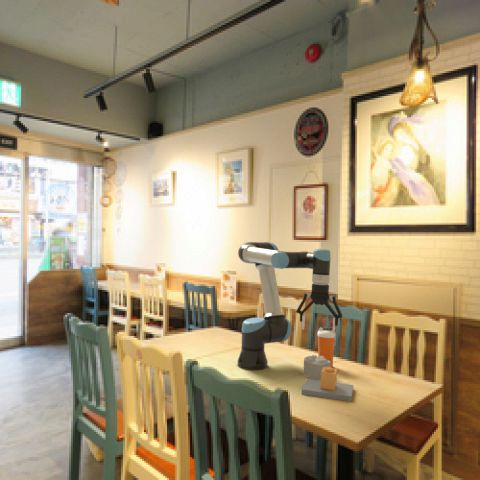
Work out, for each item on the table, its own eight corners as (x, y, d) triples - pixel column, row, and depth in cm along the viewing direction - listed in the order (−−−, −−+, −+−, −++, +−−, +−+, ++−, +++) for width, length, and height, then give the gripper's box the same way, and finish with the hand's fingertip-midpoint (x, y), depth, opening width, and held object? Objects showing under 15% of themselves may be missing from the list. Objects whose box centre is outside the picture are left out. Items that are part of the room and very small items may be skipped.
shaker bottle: (334, 370, 202) (335, 329, 202) (316, 368, 203) (317, 328, 203) (334, 364, 210) (335, 326, 210) (316, 363, 212) (317, 325, 212)
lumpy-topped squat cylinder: (317, 381, 185) (317, 362, 185) (298, 372, 196) (298, 354, 196) (333, 377, 191) (333, 358, 191) (314, 369, 202) (314, 352, 202)
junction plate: (301, 394, 168) (302, 377, 168) (307, 383, 182) (307, 367, 182) (351, 401, 162) (351, 383, 162) (353, 389, 175) (353, 373, 175)
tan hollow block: (320, 388, 170) (321, 369, 169) (322, 382, 176) (323, 365, 175) (334, 390, 168) (335, 372, 167) (336, 385, 174) (337, 367, 173)
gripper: (291, 282, 182) (289, 329, 182) (348, 287, 173) (346, 336, 174) (294, 280, 189) (292, 325, 189) (349, 285, 181) (347, 332, 181)
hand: (318, 330), depth 182 cm, fingers open, 13 cm apart
